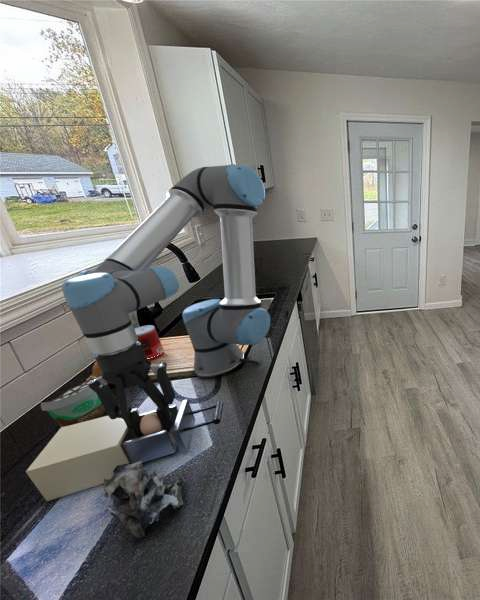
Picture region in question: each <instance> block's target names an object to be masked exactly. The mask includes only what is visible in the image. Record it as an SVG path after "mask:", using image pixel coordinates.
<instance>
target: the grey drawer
mask: <svg viewBox="0 0 480 600" xmlns="http://www.w3.org/2000/svg"><path fill="white" fill-rule="evenodd" d="M169 408H170V410H171V416H170V418H169V419H170V421H171V424H172V426H171V428H170V431H169V432H167V430H164V429H162V431H160V432H157V433H153V434H150V435H145V436H143V437H139V438H138V437H137V435H136V433H135V431H134V429H133V428H132V429H128V431H127V433H126V435H125V437H124V439H123V441H122V443H121V445H120V446H121V448H122V450H123V452H124V454H125V456H126V458H127V459H128V461H129V463H131V464H134V463H136V461H137V462H139V461H141V460H142V464H143V463H146V462H149V461H153V460H156V459H159V458H162V457H165V456H168V455H171V454H174V453H176V451H177V447H178V449H179V452H180V454H185V453H188V450H189V447H190V442H191V439H192V435H193V431H194V430H195V429H199V428H201V427H205V426H209V425H212V424H214V425H219V424H220V423H221V421H222V415H223V410H224V402H223V401H221V400H220V401H217V402H216V404H213V405H209V406H205V407H202V408H199V409H195V410H192V407H191V404H190V401H189V398H188V399H183V400H181V404H180V406H179V409H178V406H177V404H173V405H169ZM213 409H214V414H213V419H211V420H208V421H204V422H201V423H197V424H196V417H195V415H196V414H200V413H202V412H206V411H209V410H213ZM156 410H157V409H155V410H150V411H146V412H144V413H140V414H139V416H140V418H141V419H142V418H143V417H144V416H145V415H146V414H148V413H156ZM132 462H134V463H132ZM131 464H130V465H131Z"/></svg>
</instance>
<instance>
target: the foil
mask: <svg viewBox="0 0 480 600" xmlns="http://www.w3.org/2000/svg"><path fill="white" fill-rule="evenodd" d="M132 463H134V462H132ZM128 464H131V463H128ZM128 464H123V465H118V466H117V467H116V468H115V469H114V471H113V472H114V475H113V476H112V478H111V479H104V483H103V490H104V492H105V493H104V494H103V498H104V501H103V500H102V499H101V498H100V497H98V500H99V499H100V501H101V502H102V503H103V505H104V506H105V509H106V512H107V514H108V516H109V517H115V518H116V519H117V520H119V521H120V522H121V523H122V524H123V526H124V527H125V529H127V530H128V532H129V534H131V535H133V536H135V537H136V538H138V539H143V538H144V537H145V536H146V529H147V528H148V527H149V526H150V525H152V524H153V523H155V522H158V521H159V520H160V518H159V516H160V512H162V511H163V509H164V508H166V507H168V506H169V505H170V506H171V507H172V508H173V509H174V510H175V509H180V508H181V507H182V506H183V505H184V500H183V497H182V486H183V478H182V477H179V478H178V479H177V480H176V481H175V482H173V483H172V484H168V485H166V484H164V478H165V474H163V475H162V476H161V477H158V474H157V470H156V469H154V470H153V472H152V473H150V471H149V469H148V468H147V467H143V463H142V460H141V461H139V462H137V461H136V463H134V464H131V465H128ZM146 490H147V493H146V494H145V491H146ZM144 494H145V495H144ZM111 496H112V497H113V498H116V499H118V500H119V501H122V500H125V499H127V498H129V502H128V503H125V504H123V505H121V506H118V507H115V508H112V507H111V505H110V504H108V505H107V503H106V501H107V499H108V498H109V497H111ZM153 498H156V499H158V501H156V502H153V503H151V502H152V500H153Z"/></svg>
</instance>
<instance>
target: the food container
mask: <svg viewBox="0 0 480 600" xmlns="http://www.w3.org/2000/svg"><path fill="white" fill-rule="evenodd" d="M94 378H95V376H92V375H89V379H87V380H86V381H84V382H83V383H81V384H78V385H76V386H74V387H72V388H69V389H67V390H66V391H64V392H63V393H61V394H60V395H58V396H57V397H56V398H54V399H52V400H50V401H48V402H46V401H45V402H40V409H41V411H43V412H45V411H46V412H47V413H48V414H49V415H50V416H51V417H52V419H53V420H54V421H55V422H56V423H57V425H59V427H60V428H62V427H66V426H70V425H74V424H77V423H81V422H85V421H89V420H93V419H97V418H101V417H103V416H104V415H105V413H106V410H105V408H104V406H103V404H102V403H101V401H100V399H99V397H98V395H97V393H96V392H94V391H93V390H92V389H91V388H89V384H90V383H91V382H92V380H93V379H94Z"/></svg>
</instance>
